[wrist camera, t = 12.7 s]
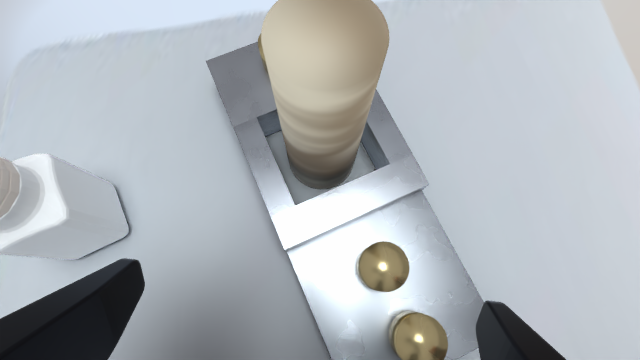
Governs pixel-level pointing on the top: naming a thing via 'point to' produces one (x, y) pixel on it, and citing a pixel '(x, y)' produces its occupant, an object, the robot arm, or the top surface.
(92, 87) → the top surface
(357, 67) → the pin
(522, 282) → the top surface
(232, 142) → the top surface
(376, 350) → the mounting plate
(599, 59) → the top surface
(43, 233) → the salt shaker
